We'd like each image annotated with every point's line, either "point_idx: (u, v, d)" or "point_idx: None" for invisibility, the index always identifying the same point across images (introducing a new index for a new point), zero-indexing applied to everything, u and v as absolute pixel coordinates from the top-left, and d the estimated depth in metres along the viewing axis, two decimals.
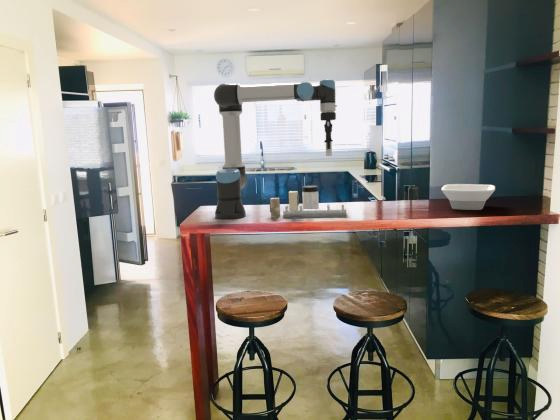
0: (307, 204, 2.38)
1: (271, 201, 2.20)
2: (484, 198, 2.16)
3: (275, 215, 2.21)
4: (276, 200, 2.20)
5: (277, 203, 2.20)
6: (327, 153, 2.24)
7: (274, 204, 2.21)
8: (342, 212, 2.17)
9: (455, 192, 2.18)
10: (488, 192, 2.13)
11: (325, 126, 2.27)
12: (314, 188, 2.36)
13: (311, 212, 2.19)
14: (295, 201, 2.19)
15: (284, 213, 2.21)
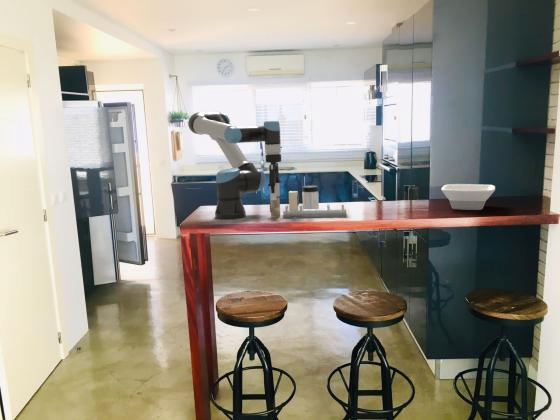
0: (307, 204, 2.38)
1: (271, 201, 2.20)
2: (484, 198, 2.16)
3: (275, 215, 2.21)
4: (276, 200, 2.20)
5: (277, 203, 2.20)
6: (272, 197, 2.15)
7: (274, 204, 2.21)
8: (342, 212, 2.17)
9: (455, 192, 2.18)
10: (488, 192, 2.13)
11: None
12: (314, 188, 2.36)
13: (311, 212, 2.19)
14: (295, 201, 2.19)
15: (284, 213, 2.21)
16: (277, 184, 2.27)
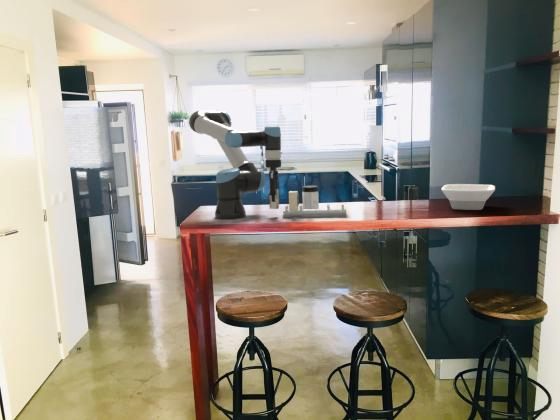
0: (307, 204, 2.38)
1: None
2: (484, 198, 2.16)
3: None
4: None
5: (276, 194, 2.20)
6: (272, 205, 2.20)
7: None
8: (342, 212, 2.17)
9: (455, 192, 2.18)
10: (488, 192, 2.13)
11: None
12: (314, 188, 2.36)
13: (311, 212, 2.19)
14: (295, 201, 2.19)
15: (284, 213, 2.21)
16: None
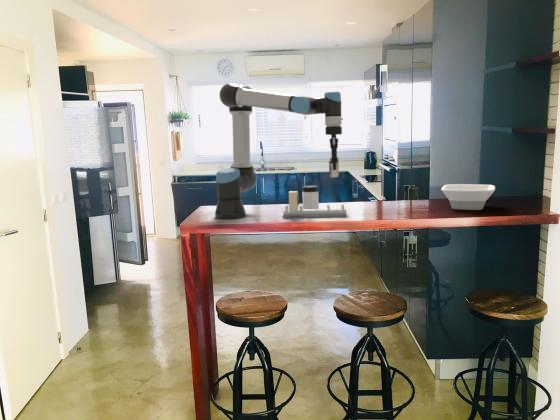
0: (307, 204, 2.38)
1: None
2: (484, 198, 2.16)
3: None
4: None
5: (337, 162, 2.14)
6: (333, 174, 2.14)
7: None
8: (342, 212, 2.17)
9: (455, 192, 2.18)
10: (488, 192, 2.13)
11: (330, 142, 2.12)
12: (314, 188, 2.36)
13: (311, 212, 2.19)
14: (295, 201, 2.19)
15: (284, 213, 2.21)
16: None
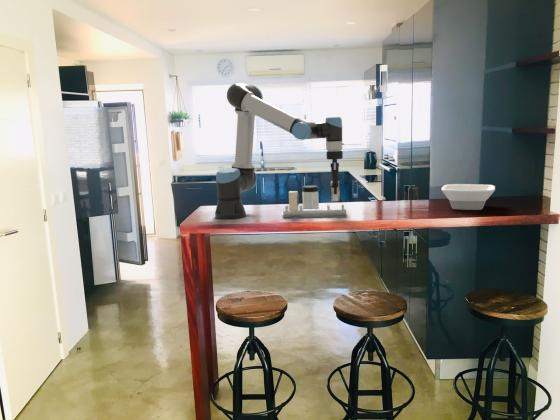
0: (307, 204, 2.38)
1: None
2: (484, 198, 2.16)
3: None
4: None
5: (338, 186, 2.16)
6: (334, 198, 2.16)
7: None
8: (342, 212, 2.17)
9: (455, 192, 2.18)
10: (488, 192, 2.13)
11: (331, 167, 2.14)
12: (314, 188, 2.36)
13: (311, 212, 2.19)
14: (295, 201, 2.19)
15: (284, 213, 2.21)
16: None
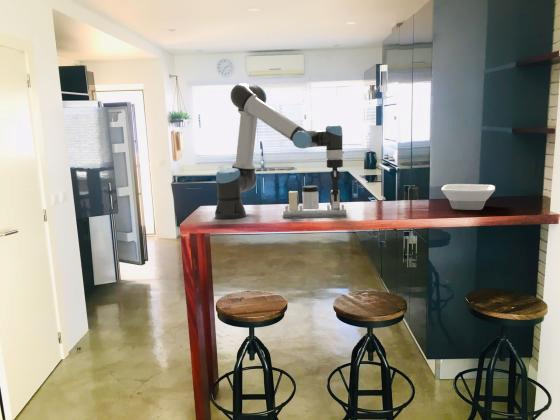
0: (307, 204, 2.38)
1: None
2: (484, 198, 2.16)
3: (335, 208, 2.17)
4: None
5: (338, 195, 2.16)
6: (334, 205, 2.14)
7: None
8: (342, 212, 2.17)
9: (455, 192, 2.18)
10: (488, 192, 2.13)
11: (332, 175, 2.15)
12: (314, 188, 2.36)
13: (311, 212, 2.19)
14: (295, 201, 2.19)
15: (284, 213, 2.21)
16: None
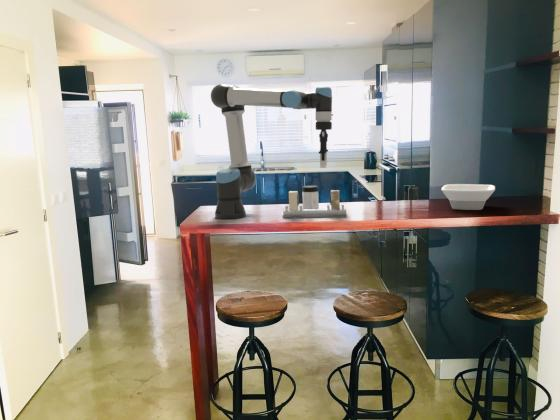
0: (307, 204, 2.38)
1: (332, 193, 2.16)
2: (484, 198, 2.16)
3: (335, 208, 2.17)
4: (337, 193, 2.16)
5: (338, 195, 2.16)
6: (321, 165, 2.12)
7: (335, 196, 2.17)
8: (342, 212, 2.17)
9: (455, 192, 2.18)
10: (488, 192, 2.13)
11: (320, 136, 2.15)
12: (314, 188, 2.36)
13: (311, 212, 2.19)
14: (295, 201, 2.19)
15: (284, 213, 2.21)
16: None
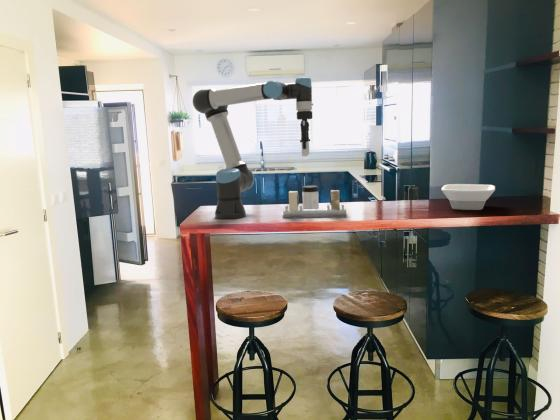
0: (307, 204, 2.38)
1: (332, 193, 2.16)
2: (484, 198, 2.16)
3: (335, 208, 2.17)
4: (337, 193, 2.16)
5: (338, 195, 2.16)
6: (303, 153, 2.17)
7: (335, 196, 2.17)
8: (342, 212, 2.17)
9: (455, 192, 2.18)
10: (488, 192, 2.13)
11: None
12: (314, 188, 2.36)
13: (311, 212, 2.19)
14: (295, 201, 2.19)
15: (284, 213, 2.21)
16: (307, 142, 2.30)
